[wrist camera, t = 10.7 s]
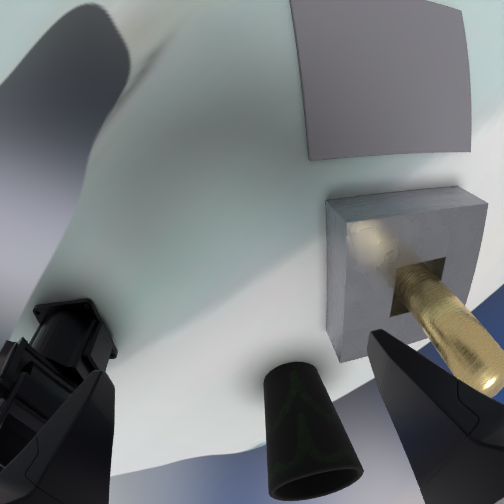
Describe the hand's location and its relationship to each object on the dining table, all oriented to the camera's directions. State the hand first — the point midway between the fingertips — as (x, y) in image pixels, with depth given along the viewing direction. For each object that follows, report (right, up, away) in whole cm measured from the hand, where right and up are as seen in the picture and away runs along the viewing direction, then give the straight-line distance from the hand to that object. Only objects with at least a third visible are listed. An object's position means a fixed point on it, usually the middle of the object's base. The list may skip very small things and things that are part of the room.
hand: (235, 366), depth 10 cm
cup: (+4, -9, +20) cm, 23 cm away
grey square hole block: (+12, +3, +15) cm, 19 cm away
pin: (+12, +3, +15) cm, 19 cm away
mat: (+10, +16, +8) cm, 20 cm away
